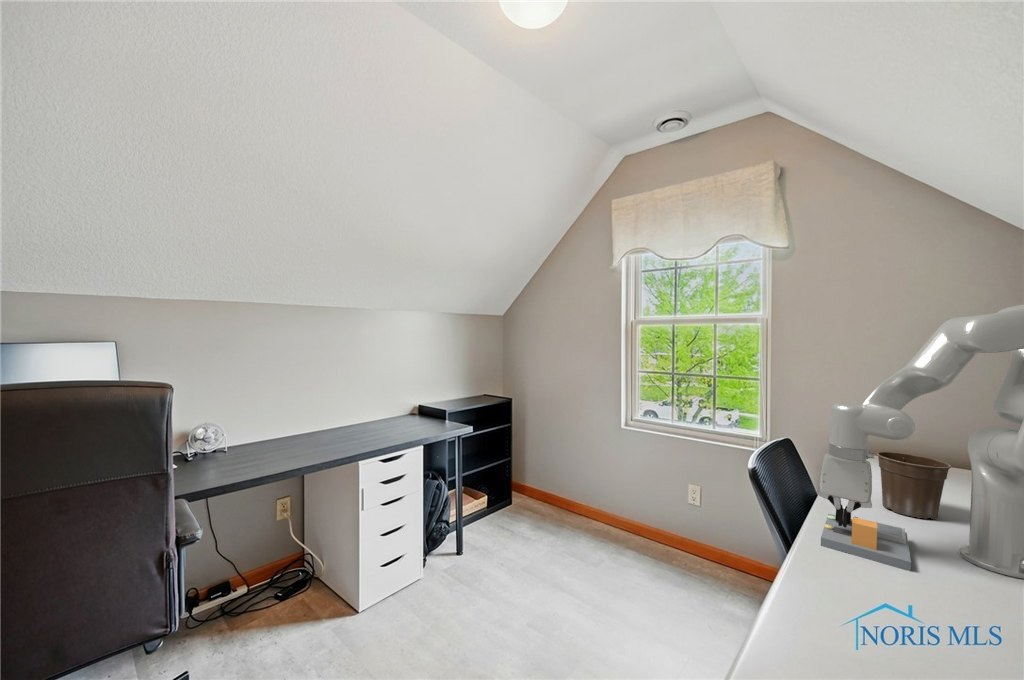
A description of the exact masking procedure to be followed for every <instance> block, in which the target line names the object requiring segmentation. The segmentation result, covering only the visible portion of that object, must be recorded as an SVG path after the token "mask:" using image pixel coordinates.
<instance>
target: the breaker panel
mask: <svg viewBox="0 0 1024 680" xmlns="http://www.w3.org/2000/svg"><path fill="white" fill-rule="evenodd" d="M835 517H836V514H832V513H828V514H827V518H826V520H825V523H824V527H823V528H822V529H823V530H822V532H821V535H820V546H821V547H825V548H828V549H832V550H836V551H839V552H843V553H845V554H849V555H853V556H856V557H860V558H863V559H867V560H871V561H874V562H878V563H881V564H883V565H888V566H892V567H895V568H898V569H901V570H905V571H908V572H911V570H912V567H911V565H912V561H911V553H910V547H909V539H908V534H907V532H906V528H904V527H900V526H895V525H892V524H887V523H883V522H879V521H875V520H871V519H866V518H863V519H864V520H868V521H872V522H877V547H876V550H874V549H870V548H867V547H863V546H859V545H856V544H852V543H851V542H852V521H853V518H851V523H850V524H847V526H846V527H844V526H843V524H842V526H838V523H839V521H836V520H835Z"/></svg>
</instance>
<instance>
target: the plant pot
mask: <svg viewBox="0 0 1024 680" xmlns="http://www.w3.org/2000/svg"><path fill="white" fill-rule="evenodd" d="M876 456H877V458H878V467H879V470H880V481H881V497H882V498H881V500H882V501H881V502H882V506H883V507H884V508H885V507H886V509H887V508H888V509H887V510H891V511H892V512H894V513H896V514H899V515H902V514H903V516H905V515H906V516H905V517H909V516H911V517H910V518H913V517H917V518H916V519H920V518H924V519H923V520H927V519H929V518H931V519H930V520H932V519H933V520H936V519H935V518H937V519H938V518H939V517H938V516H939V511H940V505H941V500H942V495H943V490H944V486H945V481H946V480H947V478H948V474H949V470H950V469H951V468H952V465H951V464H950V463H947V462H944V461H942V460H939V459H936V458H931V457H926V456H922V455H916V454H911V453H906V452H905V453H904V452H896V451H877V452H876Z"/></svg>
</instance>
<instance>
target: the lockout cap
mask: <svg viewBox="0 0 1024 680" xmlns="http://www.w3.org/2000/svg"><path fill="white" fill-rule="evenodd" d="M856 517H857V516H852V519H853V521H852V542H851V543H852V544H856V545H859V546H863V547H867V548H870V549H874V550H876V547H877V522H878V521H875V522H872V521H873V520H871V521H868V520H869V519H867V520H864V519H865V518H859V517H858V518H856Z"/></svg>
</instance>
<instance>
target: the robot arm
mask: <svg viewBox="0 0 1024 680" xmlns="http://www.w3.org/2000/svg"><path fill="white" fill-rule="evenodd" d="M1004 352H1010V361H1009V365H1008V369H1007V371H1006V373H1005V376H1004V378H1003V380H1002V383H1001V384H1000V386H999V389H998V391H997V392H996V393H997V394H996V396H995V398H994V400H993V410H994V412H995V413H996V415H997V416H999V417H1000V418H1001V419H1003V420H1005V421H1007V422H1010V423H1013V424H1016V425H1021V426H1019V427H1020V428H1019V429H1015V428H1011V427H1005V426H997V425H994V426H993V425H992V426H991V425H989V426H985V427H981V428H978V429H977V430H974V432H972V434H971V435H970V436H969V438H968V440H967V441H968V442H967V454H968V457H969V458H968V459H969V462H970V468H971V470H970V471H971V492H970V510H969V511H970V513H969V518H970V519H969V535H968V536H969V539H968V546H967V545H966V546H961V547H960V548H959V552H958V553H959V556H960V557H961V558H964V560H965V561H967V562H969V563H972V565H975V566H978V567H980V568H983V569H986V570H988V571H991V572H994V573H998V574H1000V575H1004V576H1005V575H1006V576H1008V577H1013V578H1018V579H1023V580H1024V304H1019V305H1012V306H1008V307H1005V308H1002V309H1000V310H999V311H997V312H996V313H988V314H979V315H970V316H969V315H967V316H959V317H953V318H950V319H948V320H946V321H945V322H943V323H942V324H941V325H939V327H938V328H937V329H936V330H935V331H934V333H933V334H932V335H931V336H930V337H929V339H928V340H927V341H926V342H925V343H924V344H923V345H922V347H921V348H920V349H919V350H918V351H917V353H916V354H914V356H913V357H912V358H911V360H909V361H908V363H907V364H906V365H905V366H904V367H902V368H901V369H899V370H898V371H896V372H895V373H893V374H892V375H891V376H890V377H888V378H886V379H885V380H884V381H883V382H881V383H880V384H879V385H877V386H876V387H875V389H873V391H872V392H871V393H870V394H869V395H868V396H867V398H866V399H865V400H864V401H862V403H861V405H858V404H851V403H843V402H842V403H841V402H840V403H835V404H833V405H832V406H831V409H830V410H831V411H830V422H829V423H830V424H829V435H828V436H829V437H828V452H827V453H825V454H824V456H823V461H822V465H821V471H820V478H819V479H820V480H819V490H818V493H817V494H818V495H817V496H819V497H821V498H823V499H825V500H828V501H829V502H830V503H831V505H833V508H835V515H836V517H835V520H836V521H839V523H838V526H842V524H843V526H844V527H846V526H847V524H850V523H851V519H852V513H853V512H854V511H856V510H858V509H860V508H862V509H863V508H864V509H871V508H873V503H872V500H871V499H872V493H873V480H872V479H873V474H872V472H873V471H872V466H871V465H872V464H871V462H870V461H869V460H868V459H875V452H871V451H869V450H868V441H869V440H868V439H869V436H871V437H877V438H882V439H886V440H890V441H891V440H893V441H899V440H904V439H905V440H906V439H907V438H909V437H911V436H912V435H913V433H914V432H915V430H916V423H915V421H914V418H912V417H911V416H910V415H909V414H908V413H906V412H905V411H902V410H903V408H905V406H907V405H908V404H909V403H911V402H913V400H915V399H917V398H919V397H921V396H924V395H926V394H930V393H933V392H937V391H939V390H942V389H944V388H946V387H948V386H949V385H951V384H952V383H953V381H955V379H956V378H957V377H958V376H959V374H960V373H961V372H962V371H963V370H964V369H965V367H966V366H967V365H968V364H969V363H970V362H971V361H972V360H973V359H974V358H975V357H976V356H977V354H995V353H996V354H997V353H1004ZM842 499H843V500H844V499H845V500H848V502H847V505H845V506H846V507H845V509H844V508H843V506H844V505H843V504H842ZM841 504H842V505H843V506H842V505H841ZM843 511H844V513H843Z"/></svg>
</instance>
